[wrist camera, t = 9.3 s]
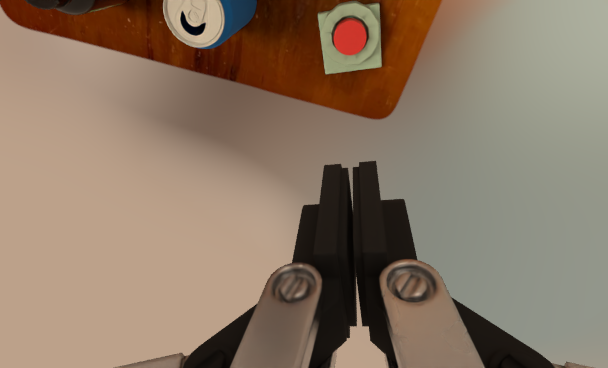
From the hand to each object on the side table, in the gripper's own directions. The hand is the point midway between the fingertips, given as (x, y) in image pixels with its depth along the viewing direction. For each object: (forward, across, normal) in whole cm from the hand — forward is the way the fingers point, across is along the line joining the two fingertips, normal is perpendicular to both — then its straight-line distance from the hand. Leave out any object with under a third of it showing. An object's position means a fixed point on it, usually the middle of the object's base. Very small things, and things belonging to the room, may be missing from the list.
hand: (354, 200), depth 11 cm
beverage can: (+35, +14, -5) cm, 38 cm away
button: (+32, 0, +1) cm, 32 cm away
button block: (+35, 0, +2) cm, 35 cm away
